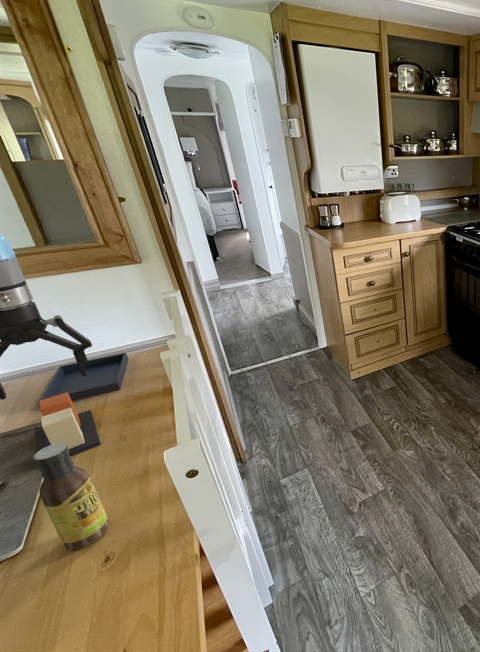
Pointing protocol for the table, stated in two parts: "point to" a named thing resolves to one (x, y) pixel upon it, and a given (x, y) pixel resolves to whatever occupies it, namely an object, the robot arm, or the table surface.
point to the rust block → (57, 405)
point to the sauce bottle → (70, 498)
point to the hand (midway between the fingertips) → (46, 385)
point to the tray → (88, 378)
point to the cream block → (62, 428)
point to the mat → (87, 430)
